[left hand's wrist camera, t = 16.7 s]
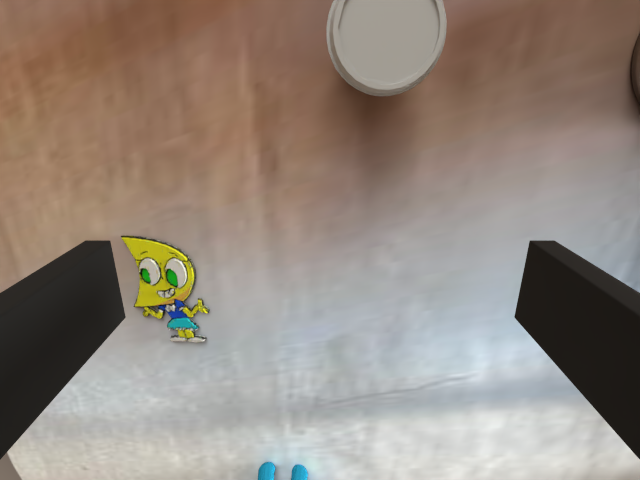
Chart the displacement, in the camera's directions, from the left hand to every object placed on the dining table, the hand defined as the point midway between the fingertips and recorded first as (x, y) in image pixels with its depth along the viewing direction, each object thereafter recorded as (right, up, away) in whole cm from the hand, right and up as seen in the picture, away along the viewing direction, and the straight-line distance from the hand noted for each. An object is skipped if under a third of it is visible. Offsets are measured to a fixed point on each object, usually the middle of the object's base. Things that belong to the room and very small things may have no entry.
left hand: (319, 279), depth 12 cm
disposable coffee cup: (+5, +22, +29) cm, 36 cm away
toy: (-20, -5, +39) cm, 44 cm away
